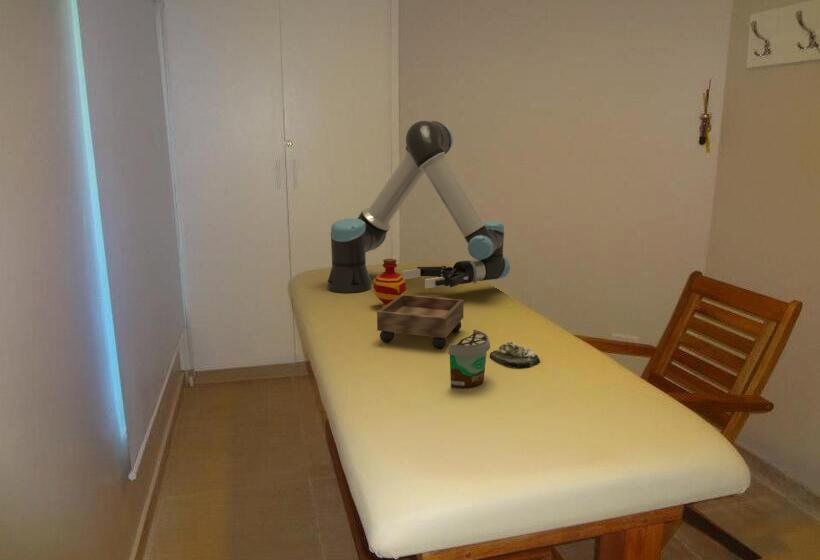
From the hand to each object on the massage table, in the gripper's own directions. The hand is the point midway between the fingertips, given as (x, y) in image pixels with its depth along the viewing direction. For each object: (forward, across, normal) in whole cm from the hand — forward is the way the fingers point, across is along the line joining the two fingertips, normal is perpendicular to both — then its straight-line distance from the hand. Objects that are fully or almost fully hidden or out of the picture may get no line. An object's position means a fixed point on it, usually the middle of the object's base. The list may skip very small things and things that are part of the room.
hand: (413, 279), depth 188 cm
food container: (+21, -60, -8) cm, 64 cm away
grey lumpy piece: (+4, -54, -8) cm, 55 cm away
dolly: (+15, -28, -8) cm, 33 cm away
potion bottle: (+8, 0, -8) cm, 12 cm away
